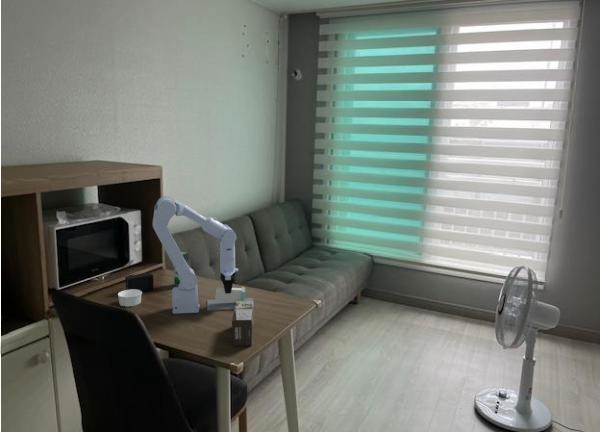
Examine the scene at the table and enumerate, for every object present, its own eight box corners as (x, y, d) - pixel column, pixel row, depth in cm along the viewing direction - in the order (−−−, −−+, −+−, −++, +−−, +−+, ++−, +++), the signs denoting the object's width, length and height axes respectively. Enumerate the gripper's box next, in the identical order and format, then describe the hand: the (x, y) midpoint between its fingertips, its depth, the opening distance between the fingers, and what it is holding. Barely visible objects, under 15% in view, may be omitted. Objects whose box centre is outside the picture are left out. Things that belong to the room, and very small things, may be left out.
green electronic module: (174, 283, 204) (172, 251, 201) (187, 282, 206) (187, 250, 203) (175, 288, 198) (174, 254, 196) (189, 286, 201) (188, 253, 198)
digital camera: (149, 286, 200) (149, 271, 199) (153, 290, 196) (153, 274, 194) (125, 291, 194) (124, 275, 192) (128, 295, 189) (128, 279, 188)
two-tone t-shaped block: (215, 302, 177) (216, 290, 176) (215, 297, 183) (216, 285, 182) (244, 304, 179) (245, 292, 178) (243, 298, 185) (244, 286, 184)
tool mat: (206, 310, 175) (206, 309, 175) (207, 301, 185) (207, 299, 185) (254, 308, 178) (254, 307, 178) (252, 299, 188) (252, 298, 187)
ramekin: (119, 300, 184) (118, 290, 183) (142, 298, 186) (141, 288, 186) (117, 308, 176) (117, 297, 175) (142, 306, 178) (141, 295, 177)
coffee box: (235, 301, 161) (231, 319, 145) (253, 300, 162) (252, 319, 146) (235, 325, 163) (231, 346, 147) (253, 325, 163) (252, 346, 148)
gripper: (238, 263, 171) (238, 298, 174) (237, 253, 185) (237, 285, 188) (219, 264, 170) (219, 298, 173) (219, 253, 184) (220, 285, 187)
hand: (228, 291), depth 180 cm, fingers closed on two-tone t-shaped block, 2 cm apart
